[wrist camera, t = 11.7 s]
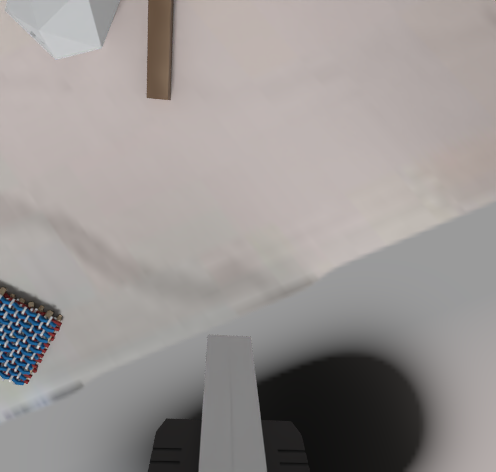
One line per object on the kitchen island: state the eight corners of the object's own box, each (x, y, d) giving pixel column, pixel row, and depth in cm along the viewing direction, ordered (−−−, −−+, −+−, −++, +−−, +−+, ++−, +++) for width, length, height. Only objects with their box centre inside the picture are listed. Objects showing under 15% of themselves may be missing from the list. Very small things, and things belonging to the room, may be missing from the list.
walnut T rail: (297, -72, 39) (303, -86, 36) (278, 109, 44) (282, 109, 41) (26, -105, 38) (10, -123, 35) (36, 88, 42) (22, 86, 39)
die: (23, -35, 40) (-36, 13, 34) (78, -98, 35) (20, -54, 29) (93, 40, 44) (51, 94, 39) (149, -6, 40) (112, 47, 34)
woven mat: (30, 382, 52) (23, 393, 50) (-56, 343, 50) (-67, 352, 48) (69, 315, 50) (62, 323, 48) (-20, 271, 48) (-30, 278, 46)
